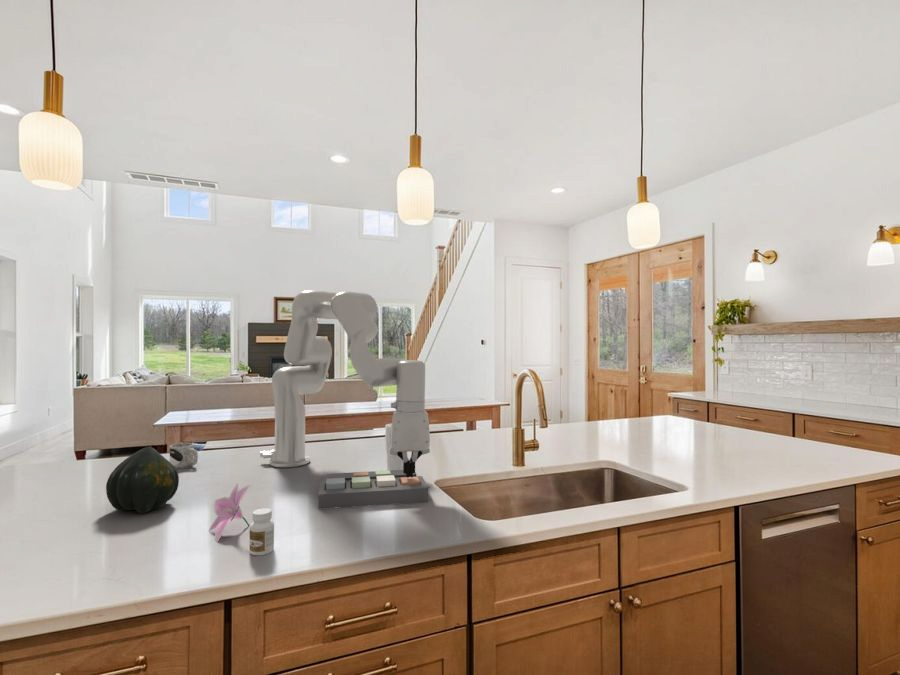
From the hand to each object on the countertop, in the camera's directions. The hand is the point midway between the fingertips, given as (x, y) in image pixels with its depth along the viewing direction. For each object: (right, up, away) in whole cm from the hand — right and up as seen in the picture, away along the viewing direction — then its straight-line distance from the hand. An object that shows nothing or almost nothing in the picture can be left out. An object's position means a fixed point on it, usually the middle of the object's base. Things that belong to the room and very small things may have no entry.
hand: (409, 475), depth 126 cm
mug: (-74, -5, +25) cm, 78 cm away
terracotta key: (0, -3, 0) cm, 3 cm away
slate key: (-18, -2, -4) cm, 19 cm away
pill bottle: (-26, -5, -34) cm, 43 cm away
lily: (-36, -5, -24) cm, 44 cm away
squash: (-63, -5, -11) cm, 65 cm away
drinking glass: (-6, -5, +19) cm, 20 cm away
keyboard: (-10, -5, 0) cm, 11 cm away
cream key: (-6, -3, -2) cm, 7 cm away
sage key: (-12, -2, -3) cm, 13 cm away
